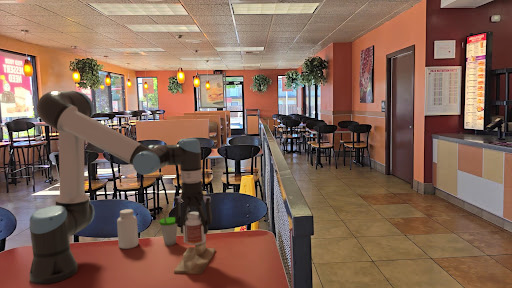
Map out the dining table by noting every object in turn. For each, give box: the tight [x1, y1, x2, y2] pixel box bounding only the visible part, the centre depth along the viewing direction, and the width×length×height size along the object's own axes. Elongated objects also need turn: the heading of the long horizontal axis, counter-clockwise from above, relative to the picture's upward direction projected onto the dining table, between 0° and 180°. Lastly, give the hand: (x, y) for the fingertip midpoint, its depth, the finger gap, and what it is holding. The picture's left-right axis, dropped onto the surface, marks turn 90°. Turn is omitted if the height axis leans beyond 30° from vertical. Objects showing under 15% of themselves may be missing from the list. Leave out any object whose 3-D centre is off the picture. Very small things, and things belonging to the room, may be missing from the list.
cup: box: [158, 211, 178, 247], centre depth 162 cm, size 8×8×15 cm
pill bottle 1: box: [116, 208, 139, 250], centre depth 162 cm, size 8×8×15 cm
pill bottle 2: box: [185, 211, 203, 246], centre depth 143 cm, size 6×6×11 cm
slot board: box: [173, 240, 216, 275], centre depth 145 cm, size 10×20×7 cm, turn 172°
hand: (194, 241), depth 144 cm, fingers closed on pill bottle 2, 6 cm apart
